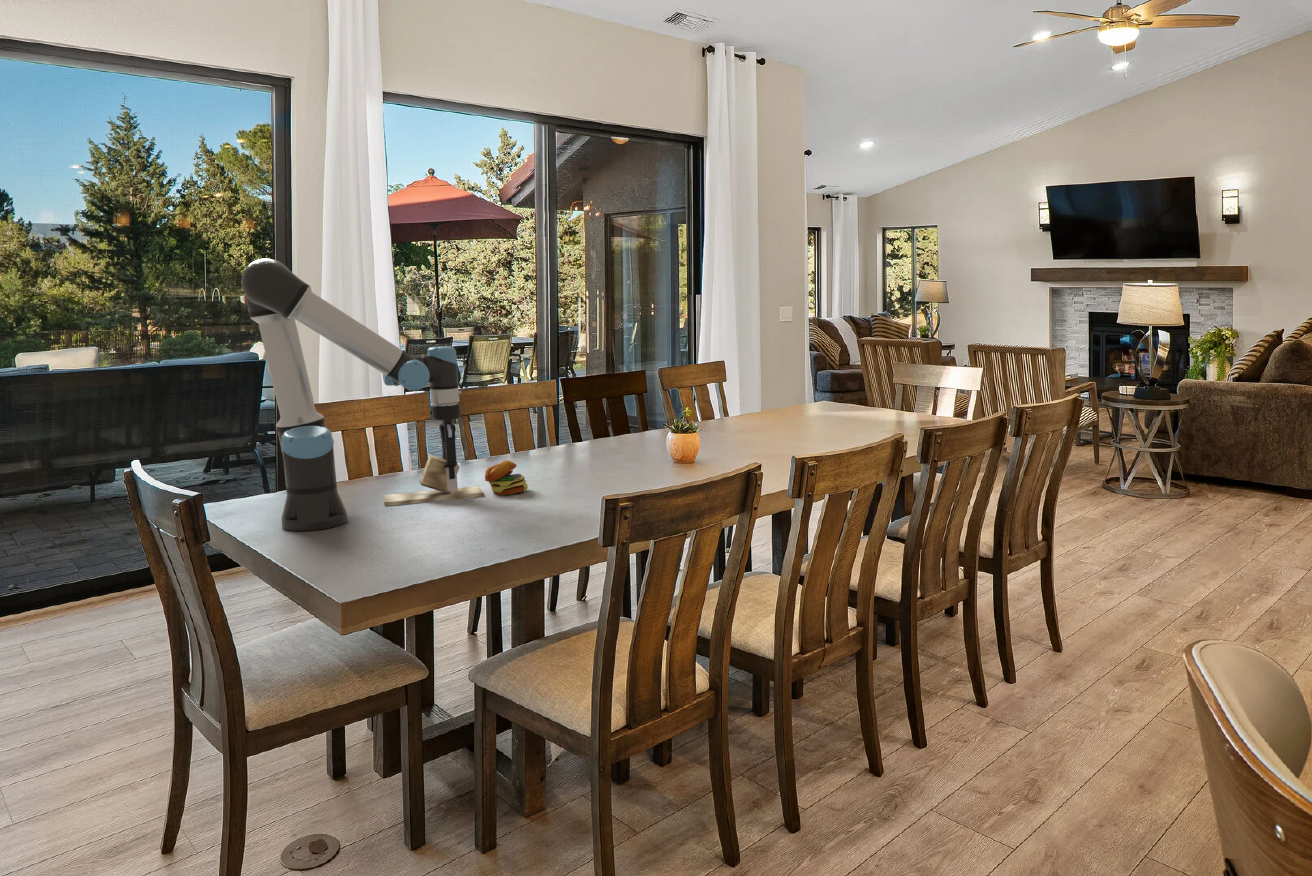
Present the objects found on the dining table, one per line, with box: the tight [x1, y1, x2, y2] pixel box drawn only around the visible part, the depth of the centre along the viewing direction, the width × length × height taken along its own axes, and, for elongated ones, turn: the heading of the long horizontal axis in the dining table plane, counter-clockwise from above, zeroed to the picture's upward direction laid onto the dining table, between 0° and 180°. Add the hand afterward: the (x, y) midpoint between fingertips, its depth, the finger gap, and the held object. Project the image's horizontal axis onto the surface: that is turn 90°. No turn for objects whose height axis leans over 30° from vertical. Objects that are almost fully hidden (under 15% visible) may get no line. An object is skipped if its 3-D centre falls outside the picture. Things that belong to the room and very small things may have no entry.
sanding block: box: [419, 454, 460, 494], centre depth 251 cm, size 8×5×8 cm, turn 111°
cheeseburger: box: [484, 459, 529, 496], centre depth 254 cm, size 10×11×10 cm
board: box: [382, 485, 485, 507], centre depth 251 cm, size 26×9×1 cm, turn 108°
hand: (451, 487), depth 252 cm, fingers closed on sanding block, 5 cm apart
